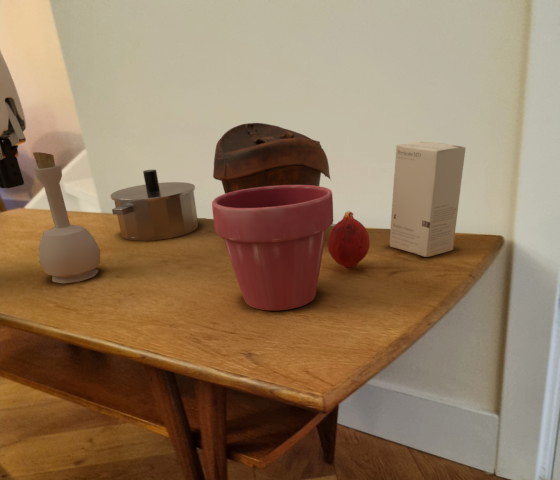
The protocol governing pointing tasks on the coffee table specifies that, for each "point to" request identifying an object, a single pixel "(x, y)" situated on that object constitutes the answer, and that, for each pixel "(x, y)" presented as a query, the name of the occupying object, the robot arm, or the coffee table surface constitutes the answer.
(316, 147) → the chocolate muffin
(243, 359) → the coffee table surface
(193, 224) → the pan
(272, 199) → the flower pot
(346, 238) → the onion
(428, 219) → the cosmetic box
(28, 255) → the coffee table surface
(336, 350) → the coffee table surface
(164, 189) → the pan lid
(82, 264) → the potion bottle
